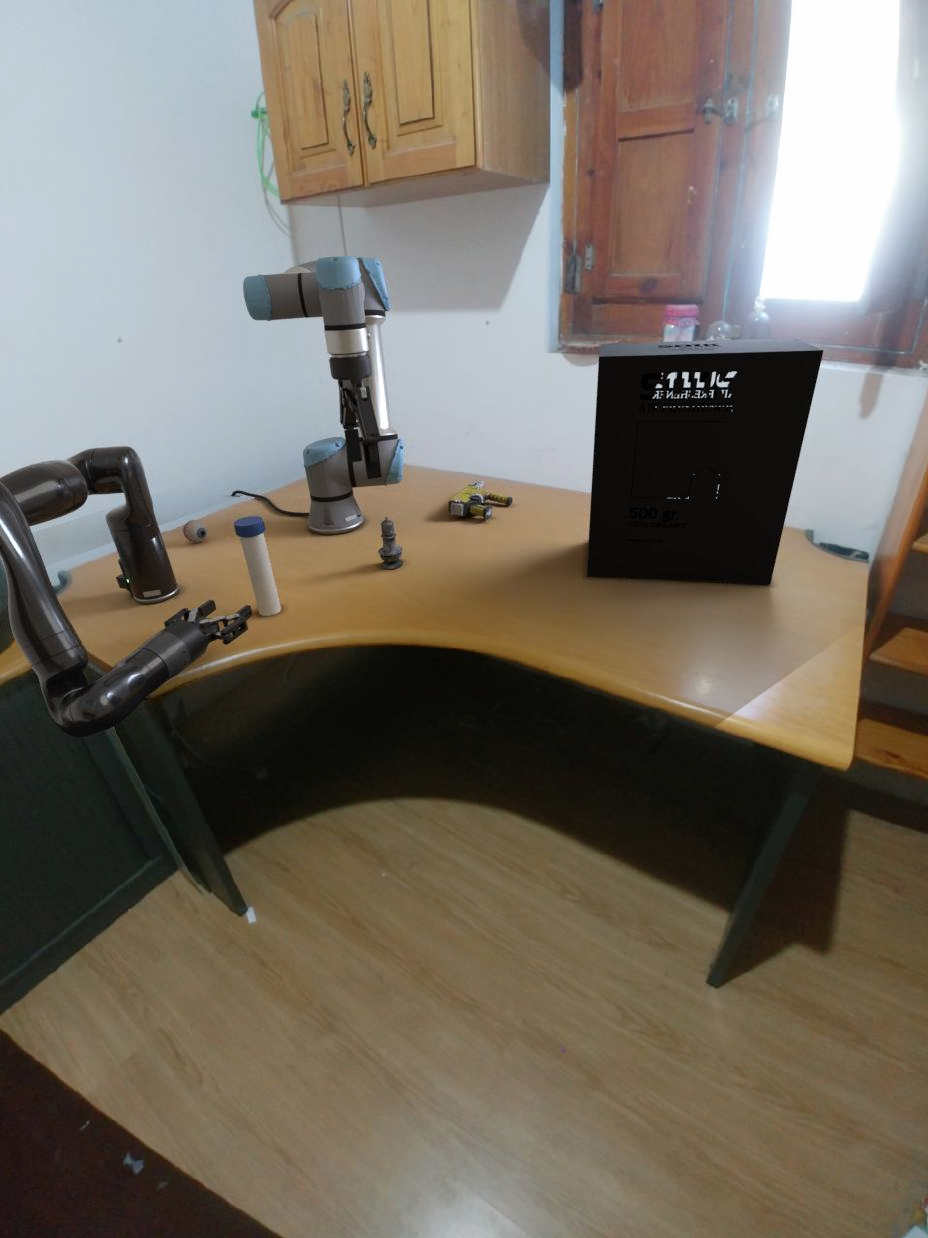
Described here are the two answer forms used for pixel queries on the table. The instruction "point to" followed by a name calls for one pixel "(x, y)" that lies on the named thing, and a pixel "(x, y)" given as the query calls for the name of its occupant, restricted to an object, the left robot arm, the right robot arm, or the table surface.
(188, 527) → the eyeball
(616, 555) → the cardboard box
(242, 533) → the lid
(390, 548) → the grey tall stepped piece
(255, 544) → the jar
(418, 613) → the table surface
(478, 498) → the toy gun
